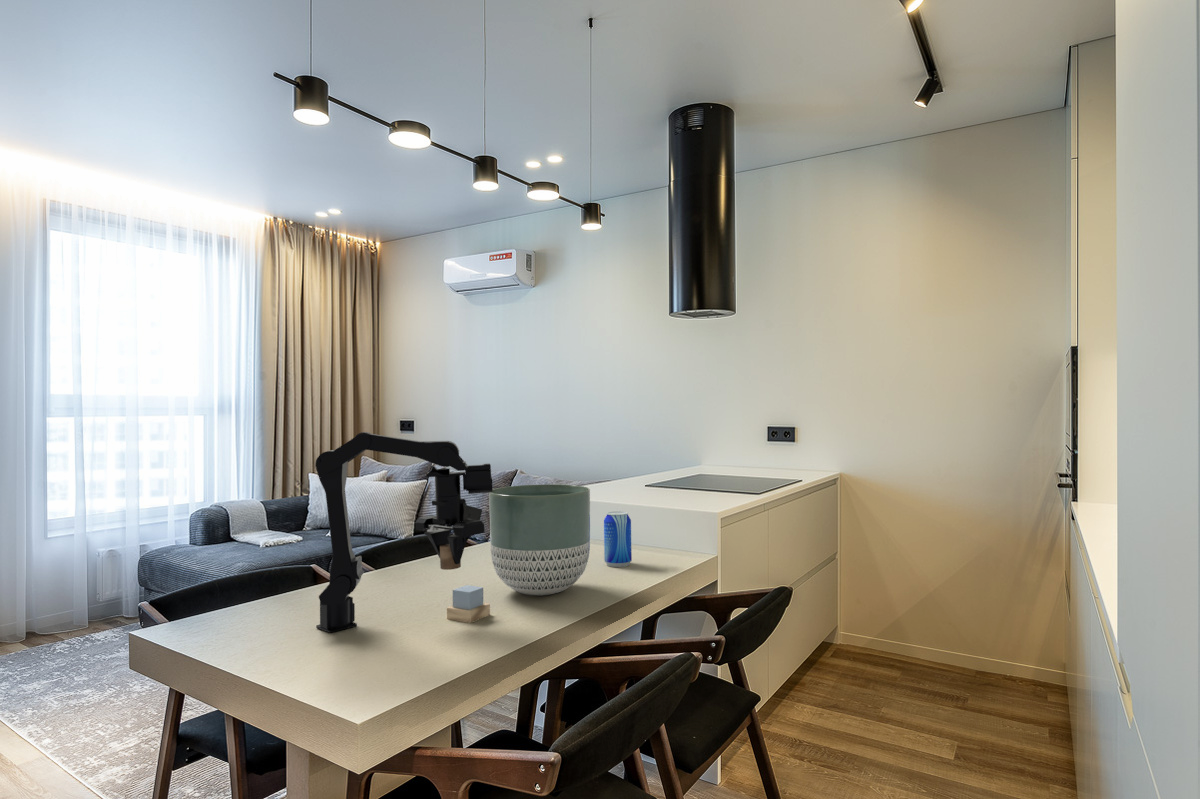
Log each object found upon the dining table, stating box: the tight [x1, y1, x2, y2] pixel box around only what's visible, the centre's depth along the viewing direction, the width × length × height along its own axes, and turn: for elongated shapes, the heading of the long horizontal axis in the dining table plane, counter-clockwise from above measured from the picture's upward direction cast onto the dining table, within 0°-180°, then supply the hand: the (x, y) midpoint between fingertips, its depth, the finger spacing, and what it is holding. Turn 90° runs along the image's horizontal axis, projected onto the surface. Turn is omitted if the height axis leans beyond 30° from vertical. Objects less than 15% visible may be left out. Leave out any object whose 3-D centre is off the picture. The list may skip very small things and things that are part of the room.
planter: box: [488, 483, 591, 596], centre depth 181 cm, size 27×27×27 cm
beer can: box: [603, 510, 633, 568], centre depth 211 cm, size 8×8×16 cm
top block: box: [452, 584, 484, 610], centre depth 160 cm, size 5×5×4 cm
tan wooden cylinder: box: [439, 543, 462, 571], centre depth 158 cm, size 5×5×5 cm
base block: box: [446, 602, 491, 624], centre depth 160 cm, size 7×7×3 cm
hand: (450, 562), depth 158 cm, fingers closed on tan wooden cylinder, 5 cm apart
